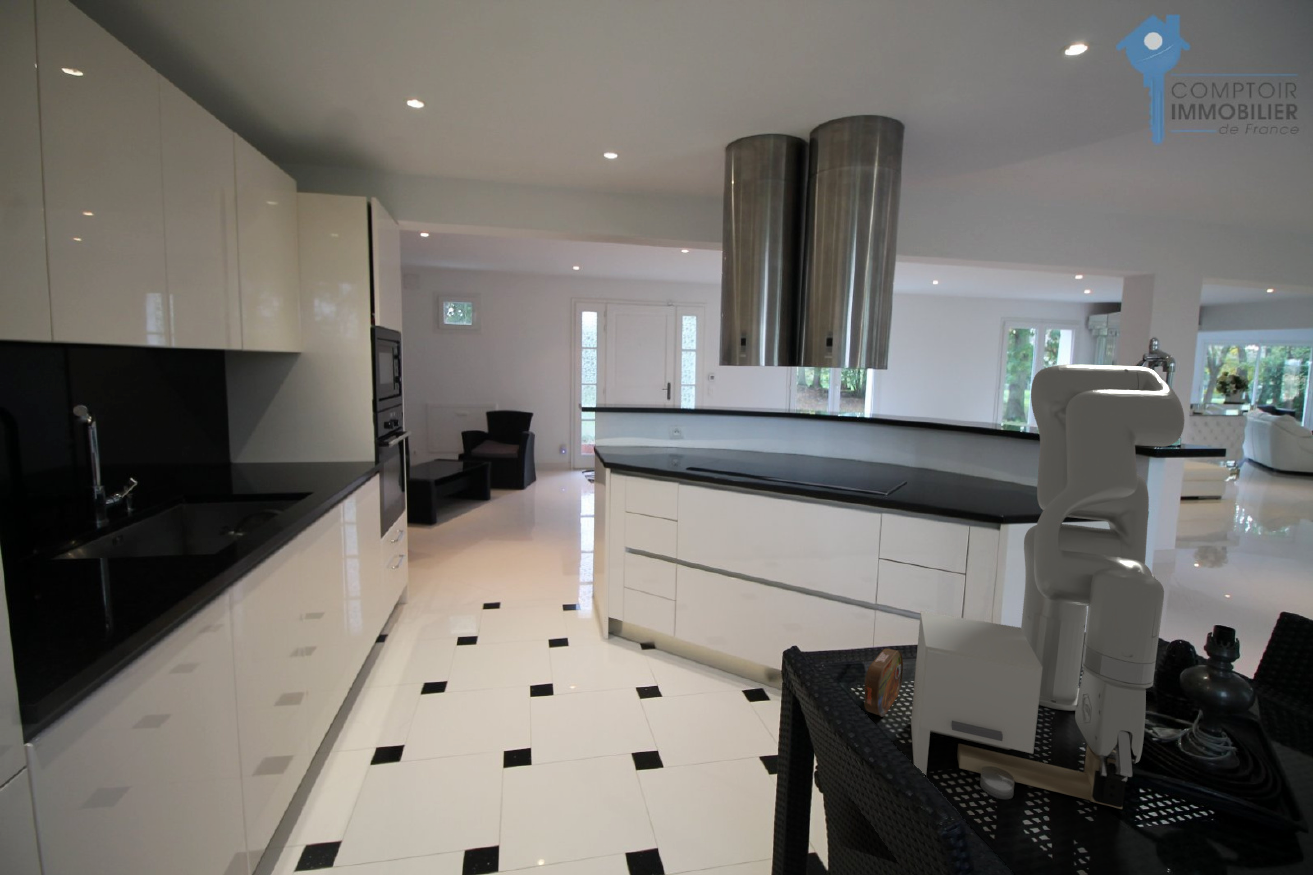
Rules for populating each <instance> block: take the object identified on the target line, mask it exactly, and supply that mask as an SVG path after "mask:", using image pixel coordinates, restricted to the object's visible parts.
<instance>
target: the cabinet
mask: <svg viewBox="0 0 1313 875" xmlns="http://www.w3.org/2000/svg"><path fill="white" fill-rule="evenodd" d="M918 625H919V626H918V628H919V629H918V636H917V637H918V639H917V647H916V648H917V649H916V650H917V651H916V658H915V659H916V661H915V673H914V681H913V682H914V685H913V694H912V695H913V696H912V706H911V707H912V708H911V716H910V717H911V718H910V726H911V727H910V728H911V739H912V740H911V742H912V756H913V758H912V759H913V766H914V765H915V766H916V767H917V768H919V769H920V770H921V771H922V773H924V774H925V775H926V776H927V768H928V758H929V747H930V739H931V738H930V737H931V735H930V734H931V733H935V734H938V735H944V736H948V737H952V738H955V739H961V740H966V741H969V742H974V743H978V744H982V745H987V746H991V747H994V748H1000V749H1004V750H1007V751H1008V750H1009V751H1010V750H1015V751H1020V752H1023V753H1024V752H1025V753H1029V754H1031V755H1033V754H1034V748H1035V741H1036V730H1037V722H1038V714H1039V713H1038V712H1039V706H1040V705H1039V696H1040V687H1041V678H1042V669H1043V667H1042V666H1041V664H1040V662H1039V660H1038V658H1037V657H1036V655H1035V653H1034V651H1033V649H1032V648H1031V646H1030V644H1029V642H1028V640H1027V639H1026V637H1025V635H1024V633H1023V631H1022V630H1021V626H1020V627H1018V626H1013V625H1008V624H1001V623H994V622H989V621H982V620H976V619H970V618H964V617H958V616H952V615H947V614H945V615H944V614H939V613H935V612H934V613H933V612H929V611H927V612H926V611H920V616H919V624H918Z"/></svg>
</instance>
